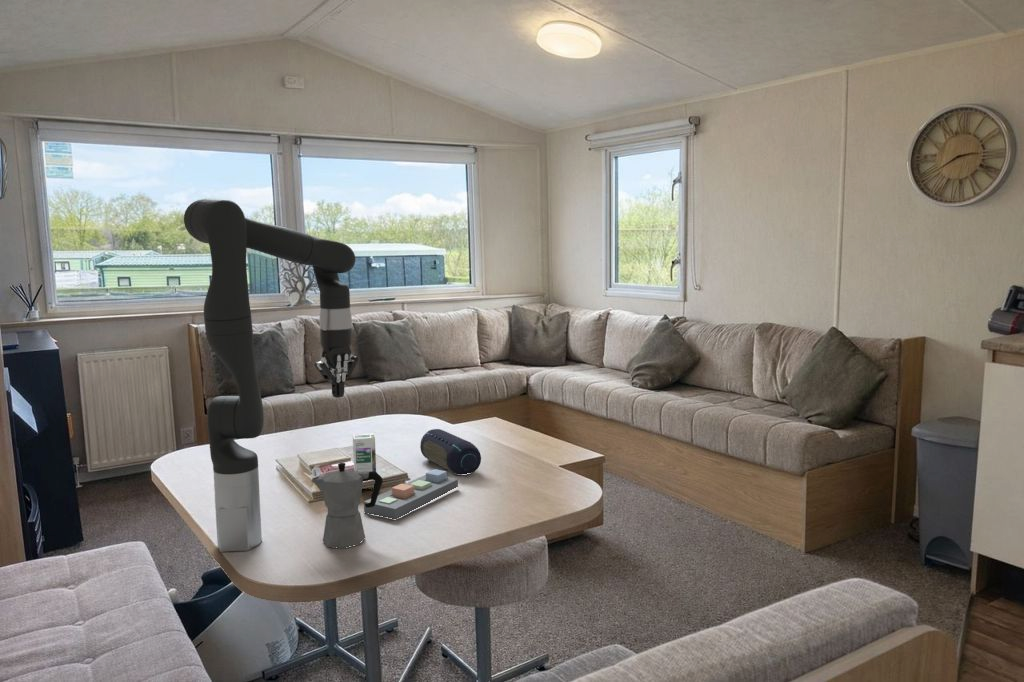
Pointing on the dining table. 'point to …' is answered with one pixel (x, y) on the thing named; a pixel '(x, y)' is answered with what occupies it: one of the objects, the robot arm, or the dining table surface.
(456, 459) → the portable speaker
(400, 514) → the button panel
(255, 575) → the dining table surface
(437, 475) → the slate button
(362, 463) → the syrup box
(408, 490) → the terracotta button
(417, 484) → the sage button
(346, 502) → the coffeepot
